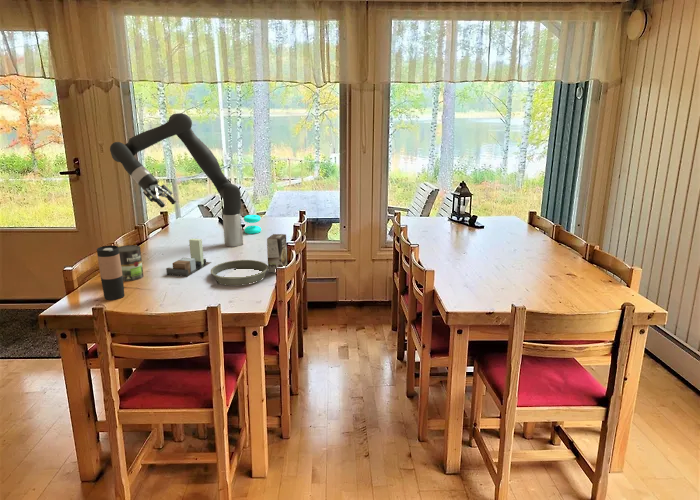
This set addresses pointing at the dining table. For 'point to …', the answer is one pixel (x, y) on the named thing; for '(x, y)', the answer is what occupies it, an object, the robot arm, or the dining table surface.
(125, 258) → the coffee can
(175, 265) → the offcut
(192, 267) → the offcut
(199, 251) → the pale green block
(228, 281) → the cake pan
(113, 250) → the travel mug
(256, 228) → the donuts
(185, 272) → the rack
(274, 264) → the coffee box
